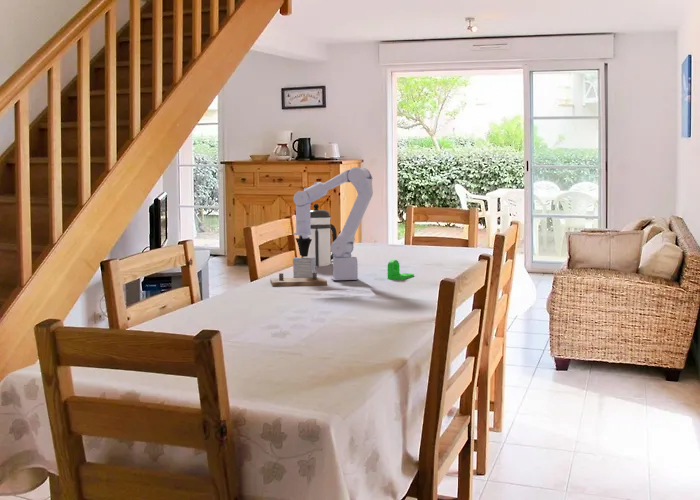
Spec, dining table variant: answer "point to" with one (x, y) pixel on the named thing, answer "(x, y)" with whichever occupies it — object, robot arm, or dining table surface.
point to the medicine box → (303, 267)
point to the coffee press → (321, 237)
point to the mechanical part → (396, 271)
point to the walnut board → (298, 281)
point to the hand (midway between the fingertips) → (303, 256)
